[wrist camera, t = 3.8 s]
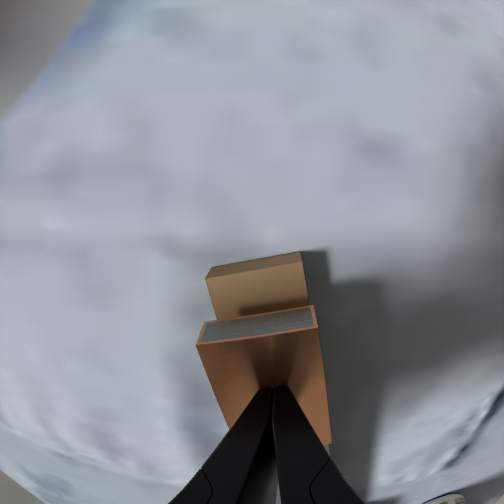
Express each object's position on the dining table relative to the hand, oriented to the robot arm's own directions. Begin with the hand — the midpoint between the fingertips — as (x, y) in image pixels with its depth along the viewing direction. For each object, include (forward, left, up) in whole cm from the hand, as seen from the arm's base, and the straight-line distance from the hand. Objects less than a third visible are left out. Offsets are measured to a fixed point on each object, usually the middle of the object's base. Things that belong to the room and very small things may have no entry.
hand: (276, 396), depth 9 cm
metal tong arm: (-7, 0, -1) cm, 7 cm away
